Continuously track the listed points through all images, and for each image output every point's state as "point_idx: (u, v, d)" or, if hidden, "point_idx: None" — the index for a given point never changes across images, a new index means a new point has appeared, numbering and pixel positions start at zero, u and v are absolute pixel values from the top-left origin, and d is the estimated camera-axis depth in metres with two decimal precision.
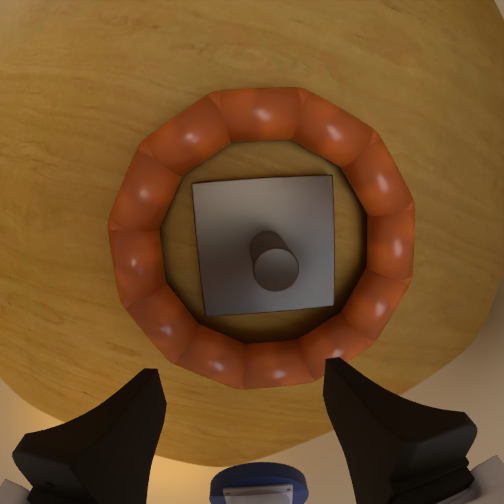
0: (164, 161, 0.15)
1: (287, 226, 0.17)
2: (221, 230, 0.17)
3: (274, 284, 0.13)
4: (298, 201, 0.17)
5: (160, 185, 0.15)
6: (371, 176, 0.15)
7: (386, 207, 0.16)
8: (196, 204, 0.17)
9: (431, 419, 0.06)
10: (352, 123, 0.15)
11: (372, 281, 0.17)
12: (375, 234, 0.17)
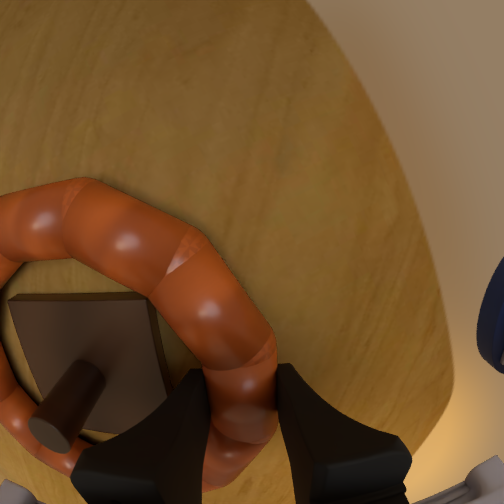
0: (34, 449, 0.12)
1: (61, 354, 0.12)
2: None
3: (61, 442, 0.08)
4: (37, 340, 0.12)
5: (52, 455, 0.12)
6: None
7: None
8: None
9: (358, 439, 0.06)
10: None
11: (81, 261, 0.10)
12: (29, 260, 0.10)
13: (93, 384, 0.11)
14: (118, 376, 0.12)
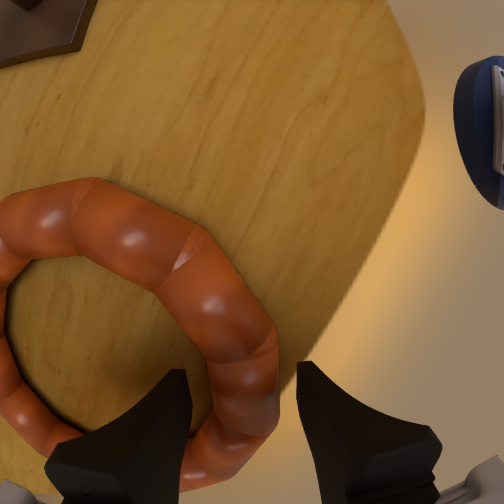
0: (39, 445, 0.12)
1: None
2: (5, 37, 0.09)
3: None
4: None
5: None
6: None
7: (5, 252, 0.10)
8: None
9: (391, 431, 0.06)
10: None
11: (90, 258, 0.10)
12: (37, 257, 0.10)
13: None
14: None
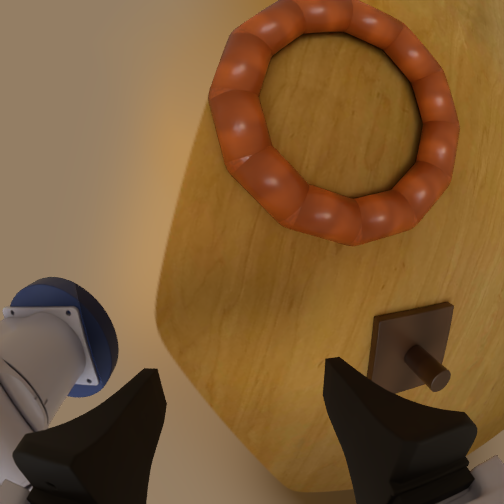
0: (401, 34, 0.15)
1: None
2: (428, 326, 0.22)
3: (435, 382, 0.18)
4: None
5: (385, 31, 0.16)
6: (428, 178, 0.18)
7: (410, 197, 0.18)
8: (444, 309, 0.22)
9: (431, 418, 0.06)
10: (452, 161, 0.18)
11: (350, 201, 0.18)
12: (386, 195, 0.19)
13: (409, 366, 0.22)
14: (396, 361, 0.23)
